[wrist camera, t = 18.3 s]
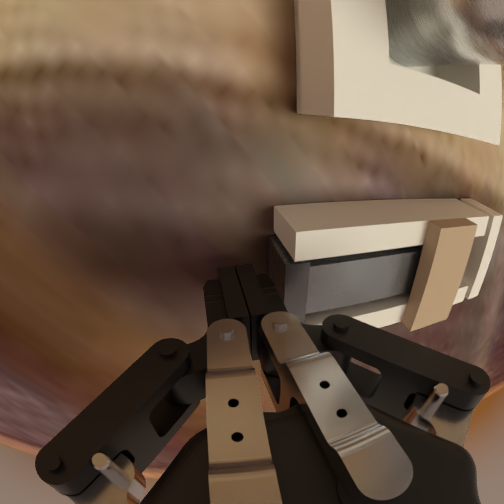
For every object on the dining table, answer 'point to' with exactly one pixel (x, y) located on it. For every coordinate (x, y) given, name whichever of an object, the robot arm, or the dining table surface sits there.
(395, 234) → the pin guide
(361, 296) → the pin
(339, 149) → the dining table surface
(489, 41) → the salt shaker
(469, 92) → the socket block
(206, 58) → the dining table surface
